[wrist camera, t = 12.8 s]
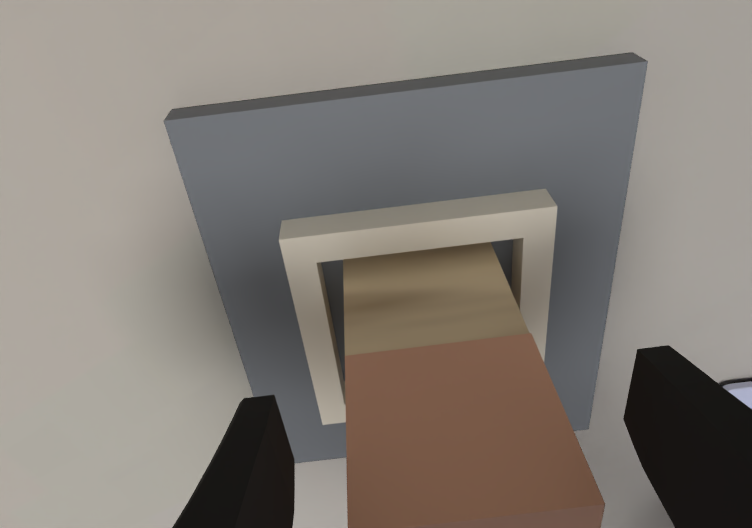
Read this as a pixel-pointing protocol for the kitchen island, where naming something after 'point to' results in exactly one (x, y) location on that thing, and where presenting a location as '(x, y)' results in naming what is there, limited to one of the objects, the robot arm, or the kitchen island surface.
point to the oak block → (427, 299)
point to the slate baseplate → (412, 213)
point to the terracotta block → (463, 440)
